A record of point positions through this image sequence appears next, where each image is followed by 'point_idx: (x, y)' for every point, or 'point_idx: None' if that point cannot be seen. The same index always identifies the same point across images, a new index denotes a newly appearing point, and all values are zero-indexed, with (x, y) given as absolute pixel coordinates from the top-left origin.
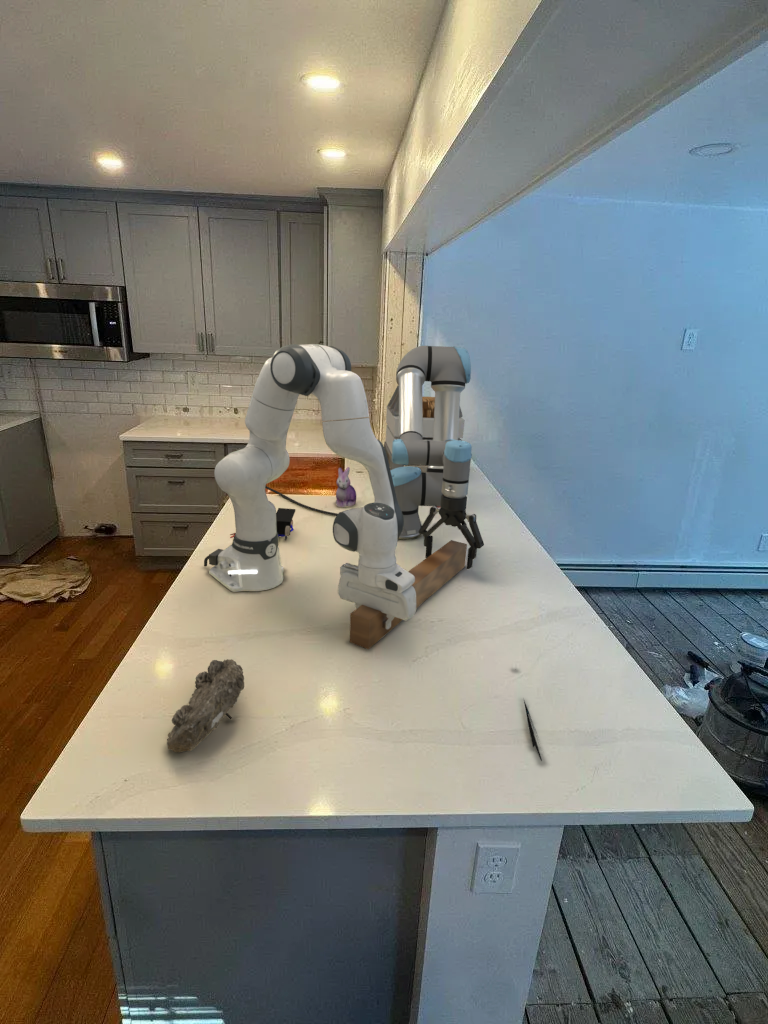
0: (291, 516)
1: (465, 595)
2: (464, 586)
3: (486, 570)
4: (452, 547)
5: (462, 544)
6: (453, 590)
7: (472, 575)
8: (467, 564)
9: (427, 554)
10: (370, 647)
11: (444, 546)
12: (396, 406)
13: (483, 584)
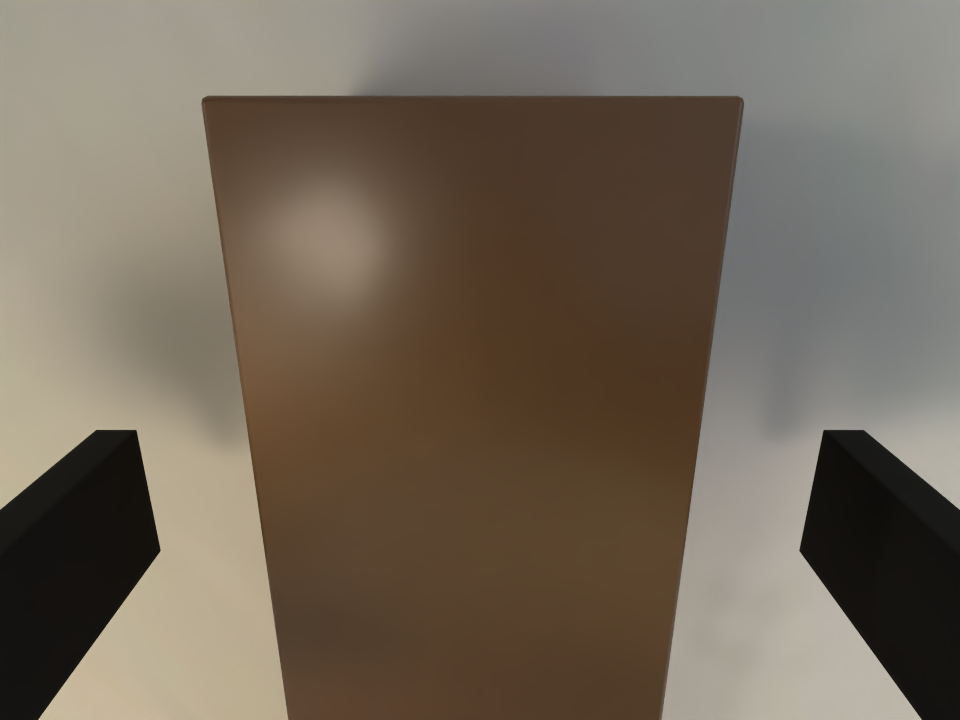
0: None
1: (822, 712)
2: (765, 579)
3: (936, 2)
4: (488, 544)
5: (635, 225)
6: (691, 694)
7: (779, 291)
8: (849, 604)
9: (125, 594)
10: None
11: (312, 599)
12: None
13: (955, 432)
